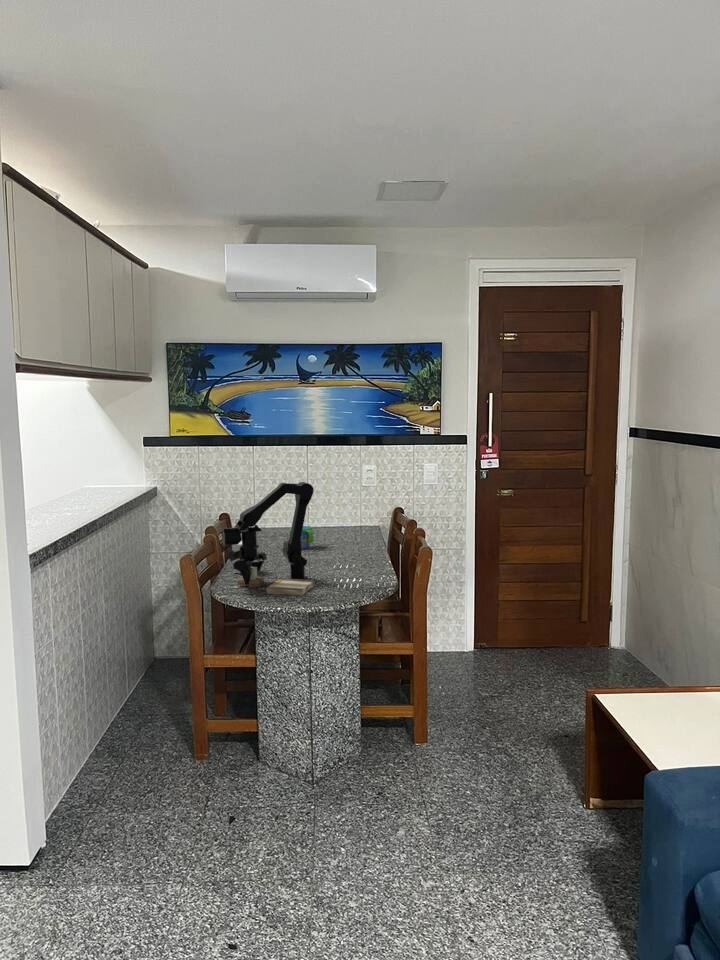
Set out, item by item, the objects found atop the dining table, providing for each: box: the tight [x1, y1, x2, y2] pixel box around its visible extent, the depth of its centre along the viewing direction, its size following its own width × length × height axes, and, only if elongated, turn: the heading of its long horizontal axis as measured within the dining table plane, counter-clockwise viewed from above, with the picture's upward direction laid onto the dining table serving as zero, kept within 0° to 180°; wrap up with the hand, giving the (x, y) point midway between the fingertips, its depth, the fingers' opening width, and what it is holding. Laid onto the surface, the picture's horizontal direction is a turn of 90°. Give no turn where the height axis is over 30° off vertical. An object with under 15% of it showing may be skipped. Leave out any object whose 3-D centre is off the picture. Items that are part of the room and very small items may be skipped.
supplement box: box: [231, 540, 252, 574], centre depth 303 cm, size 7×7×13 cm
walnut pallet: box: [236, 576, 266, 588], centre depth 281 cm, size 6×9×3 cm, turn 74°
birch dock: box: [266, 578, 315, 596], centre depth 273 cm, size 14×14×2 cm
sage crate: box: [250, 567, 257, 580], centre depth 281 cm, size 4×4×4 cm
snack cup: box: [288, 525, 315, 550], centre depth 348 cm, size 16×10×10 cm
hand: (251, 582), depth 281 cm, fingers open, 7 cm apart
